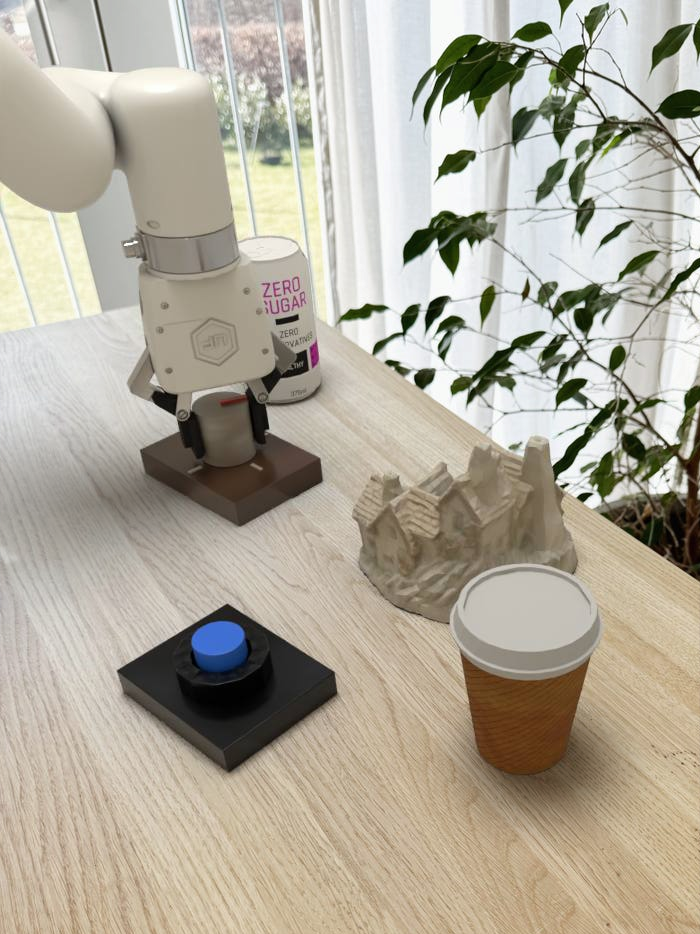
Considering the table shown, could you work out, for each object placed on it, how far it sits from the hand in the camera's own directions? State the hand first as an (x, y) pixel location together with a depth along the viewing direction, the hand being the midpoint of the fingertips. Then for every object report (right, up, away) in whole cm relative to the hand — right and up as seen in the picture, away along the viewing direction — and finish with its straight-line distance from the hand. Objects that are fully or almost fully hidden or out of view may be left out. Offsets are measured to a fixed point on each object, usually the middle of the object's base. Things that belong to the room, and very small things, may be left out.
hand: (227, 443), depth 92 cm
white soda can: (+2, +9, +16) cm, 18 cm away
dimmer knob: (0, -1, +1) cm, 1 cm away
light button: (+5, -19, -22) cm, 30 cm away
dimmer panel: (0, -3, +2) cm, 4 cm away
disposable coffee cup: (+26, -25, -23) cm, 43 cm away
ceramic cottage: (+22, -12, -8) cm, 27 cm away
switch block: (+5, -22, -20) cm, 30 cm away
